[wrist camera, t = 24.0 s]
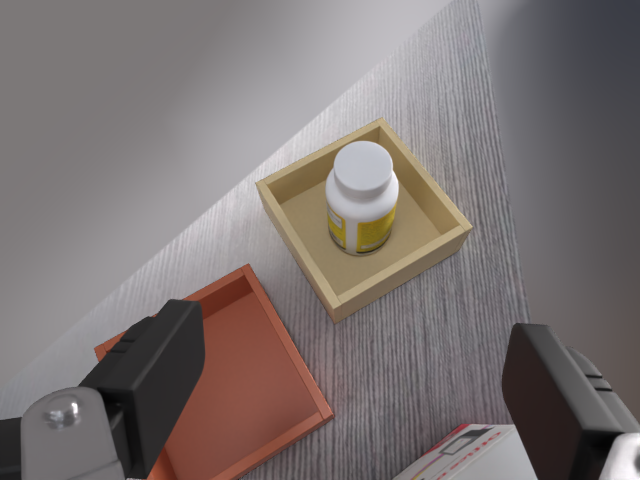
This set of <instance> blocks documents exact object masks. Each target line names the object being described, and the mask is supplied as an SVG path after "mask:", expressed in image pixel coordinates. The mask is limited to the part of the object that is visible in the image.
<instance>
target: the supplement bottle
mask: <svg viewBox="0 0 640 480" xmlns="http://www.w3.org/2000/svg"><path fill="white" fill-rule="evenodd" d="M398 192H399V185H398V180H397V177H396V175H395V173H394V171H393V163H392V159H391V156H390V155H389V153H388V152H387V151H386V150H385V149H384V148H383V147H382V146H380V145H378V144H376V143H373V142H369V141H357V142H353V143H350V144H348V145H346V146H345V147H343V148H342V149H341V150H340V151H339V152H338V154H337V155H336V158H335V161H334V168H333V169H332V170H331V171H330V173H329V175H328V177H327V181H326V186H325V194H326V205H327V217H328V228H329V233H330V236H331V238H332V240H333V242H334V243H335V244H336V246H337V247H338V248H340V249H341V250H343V251H344V252H346V253H349V254H352V255H359V256H361V255H368V254H372V253H374V252H376V251H378V250H379V249H381V248H382V247H383V246H384V245H385V244H386V242H387V241H388V239H389V237H390V234H391V230H392V225H393V220H394V215H395V209H396V203H397V199H398Z"/></svg>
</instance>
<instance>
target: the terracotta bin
mask: <svg viewBox="0 0 640 480" xmlns="http://www.w3.org/2000/svg"><path fill="white" fill-rule="evenodd" d="M182 300H191V301H199V302H200V304H201V307H202V315H203V327H204V340H205V363H204V368H203V372H202V374H201V377H200V378H199V380H198V382H197V384H196V386H195V388H194V390H193V392H192V394H191V396H190V398H189V399H188V401H187V403H186V405H185V407H184V409H183V411H182V413H181V415H180V417H179V419H178V420H177V422H176V424H175V426H174V428H173V430H172V432H171V434H170V436H169V438H168V440H167V442H166V443H165V445H164V447H163V449H162V451H161V453H160V455H159V457H158V459H157V461H156V463H155V464H154V466H153V468H152V470H151V472H150V474H149V476H148V478H147V480H238V479H239V478H241V477H242V476H244V475H245V474H247V473H249V472H250V471H252V470H253V469H255V468H256V467H258V466H260V465H261V464H263V463H264V462H266V461H267V460H269V459H271V458H272V457H274V456H275V455H277V454H279V453H280V452H282V451H283V450H285V449H286V448H288V447H290V446H291V445H293V444H294V443H296V442H297V441H299V440H301V439H302V438H304V437H305V436H307V435H308V434H310V433H312V432H313V431H315V430H316V429H318V428H319V427H321V426H323V425H324V424H326V423H327V422H329V421H330V420H332V419H334V415H333V413H332V411H331V409H330V408H329V406H328V404H327V402H326V400H325V399H324V397H323V395H322V393H321V391H320V390H319V388H318V386H317V384H316V382H315V381H314V379H313V377H312V375H311V374H310V372H309V370H308V368H307V366H306V365H305V363H304V361H303V359H302V357H301V356H300V354H299V352H298V350H297V349H296V347H295V345H294V343H293V341H292V340H291V338H290V336H289V334H288V332H287V331H286V329H285V327H284V325H283V323H282V322H281V320H280V318H279V316H278V315H277V313H276V311H275V309H274V307H273V306H272V304H271V302H270V300H269V298H268V297H267V295H266V293H265V291H264V289H263V288H262V286H261V284H260V282H259V281H258V279H257V277H256V275H255V273H254V272H253V270H252V268H251V266H250V264H249V263H248V264H246V265H244V266H243V267H241V268H239V269H237V270H235V271H233V272H231V273H230V274H228V275H226V276H224V277H222V278H221V279H219V280H217V281H215V282H213V283H212V284H210V285H208V286H206V287H204V288H202V289H201V290H199V291H197V292H195V293H193V294H192V295H190V296H188V297H186V298H184V299H182ZM157 314H158V313H157ZM157 314H155V315H153V316H152V317H155V316H156V315H157ZM126 331H127V330H126ZM126 331H124V332H122V333H121V334H119V335H117V336H115V337H113V338H112V339H110V340H108V341H106V342H104V343H103V344H101V345H99V346H97V347H95V348H94V350H95V353H96V356H97V358H98V361H99V362H100V361H101V359H102V358H103V357H104V356H105V355H106V354H107V353H108V352H110V349H111V348H112V347H113V346H114V345H115V344H116V343H117V342H119V341H120V338H121V337H122V336H123V335H124V334H125V332H126ZM142 480H146V479H142Z"/></svg>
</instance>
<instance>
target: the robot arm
mask: <svg viewBox="0 0 640 480" xmlns="http://www.w3.org/2000/svg"><path fill="white" fill-rule="evenodd" d="M204 363H205V340H204V327H203V315H202V307H201V304H200V302H199V301H191V300H176V299H170V300H169V301H168V302H167V303H166V304H165V305H164V306H163V308H162V309H161V310H160V311H159V312H158V314H157V315H156V316H155V317H149V316H148V317H146V318H144V319H143V320H141V321H139V322H138V323H136V324H134V325H133V326H131V327H130V328H129V329H128V330H127V331H126V332H125V334H124V335H123V336H122V337H121V338H120V341H119V342H117V343H116V344H115V345H114V346H113V347H112V348H111V349H110V352H108V353H107V354H106V355H105V356H104V357H103V358H102V359H101V361H100V362H99V363H98V364H97V365H96V366H95V367H94V368H93V370H92V371H91V372H90V373H89V374H88V375H87V376H86V377H85V379H84V380H83V381H82V382H81V383H80V384H79V385H78V386H77V387H71V388H66V389H62V390H58V391H55V392H53V393H51V394H48V395H46V396H44V397H43V398H41V399H39V400H38V401H36V402H35V403H34V404H33V405H31V406H30V407H29V408H28V409H27V411H26V412H25V413H24V415H23V417H19V418H12V419H6V420H0V480H126V479H127V478H135V479H146V480H147V478H148V476H149V474H150V472H151V470H152V468H153V466H154V464H155V463H156V461H157V459H158V457H159V455H160V453H161V451H162V449H163V447H164V445H165V443H166V442H167V440H168V438H169V436H170V434H171V432H172V430H173V428H174V426H175V424H176V422H177V420H178V419H179V417H180V415H181V413H182V411H183V409H184V407H185V405H186V403H187V401H188V399H189V398H190V396H191V394H192V392H193V390H194V388H195V386H196V384H197V382H198V380H199V378H200V377H201V374H202V372H203V368H204ZM502 392H503V397H504V400H505V403H506V405H507V408H508V410H509V413H510V415H511V417H512V420H513V422H514V424H515V427H516V429H517V432H518V434H519V436H520V439H521V441H522V444H523V446H524V448H525V451H526V453H527V456H528V458H529V460H530V463H531V465H532V467H533V470H534V472H535V475H536V477H537V479H538V480H640V424H639V423H638V422H637V420H636V419H635V418H634V417H633V415H632V414H631V413H630V411H629V410H628V409H627V407H626V406H625V405H624V404H623V402H622V401H621V400H620V398H619V397H618V396H617V394H616V393H615V392H612V388H611V387H610V385H609V384H608V383H607V381H606V380H605V379H602V375H601V374H600V372H599V371H598V370H597V368H596V367H595V366H594V364H593V363H592V362H591V361H590V360H589V359H588V358H586V357H585V356H584V355H582V354H581V353H579V352H578V351H577V350H575V349H574V348H572V347H565V346H564V345H563V344H562V343H561V341H560V340H559V339H558V337H557V335H556V334H555V333H554V331H553V330H552V328H551V327H550V326H548V325H538V324H524V323H516V324H515V325H514V326H513V328H512V331H511V335H510V340H509V345H508V350H507V354H506V359H505V364H504V369H503V374H502Z"/></svg>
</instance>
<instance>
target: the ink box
mask: <svg viewBox="0 0 640 480" xmlns="http://www.w3.org/2000/svg"><path fill="white" fill-rule="evenodd" d="M392 480H538V479H537V477H536V475H535V472H534V470H533V467H532V465H531V463H530V460H529V458H528V456H527V453H526V451H525V448H524V446H523V444H522V441H521V439H520V436H519V434H518V432H517V429H516V427H515V425H480V424H461V425H460V426H459V427H457V428H456V429H455V430H453V431H452V432H451V433H450V434H448V435H447V436H446V437H445V438H443V439H442V440H441V441H440V442H438V443H437V444H436V445H435V446H433V447H432V448H431V449H430V450H429V451H427V452H426V453H425V454H424V455H422V456H421V457H420V458H419V459H418V460H416V461H415V462H413V463H412V464H411V465H410V466H408V467H407V468H406V469H405V470H403V471H402V472H401V473H400V474H399V475H397V476H396V477H395V478H393V479H392Z"/></svg>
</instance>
